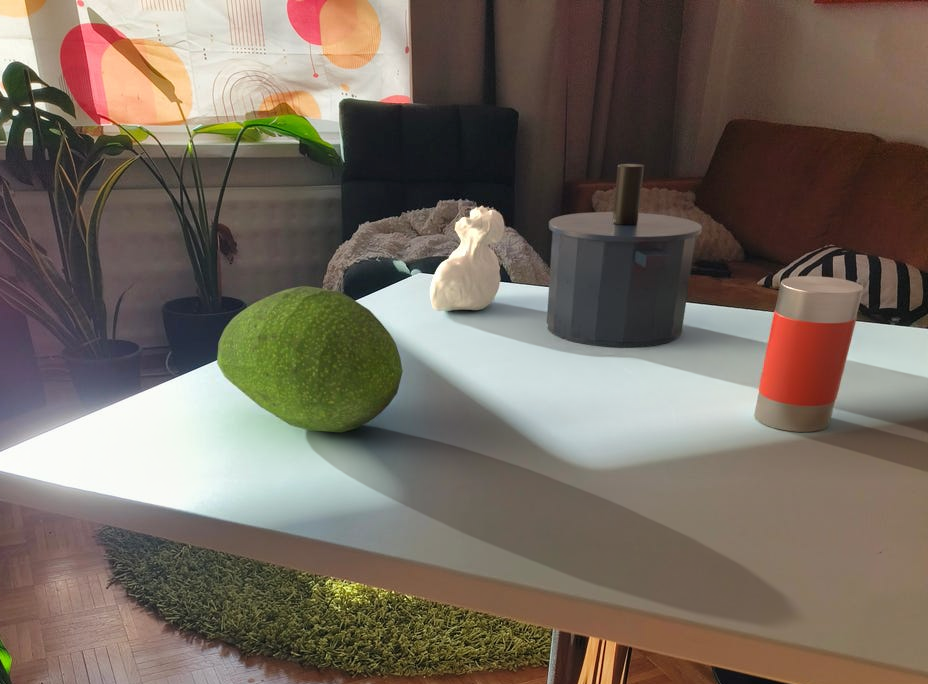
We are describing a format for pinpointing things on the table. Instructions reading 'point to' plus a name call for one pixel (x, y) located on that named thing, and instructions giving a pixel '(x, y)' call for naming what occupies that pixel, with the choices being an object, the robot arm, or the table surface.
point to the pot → (618, 291)
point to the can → (807, 352)
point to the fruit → (312, 359)
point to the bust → (470, 265)
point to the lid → (626, 217)
